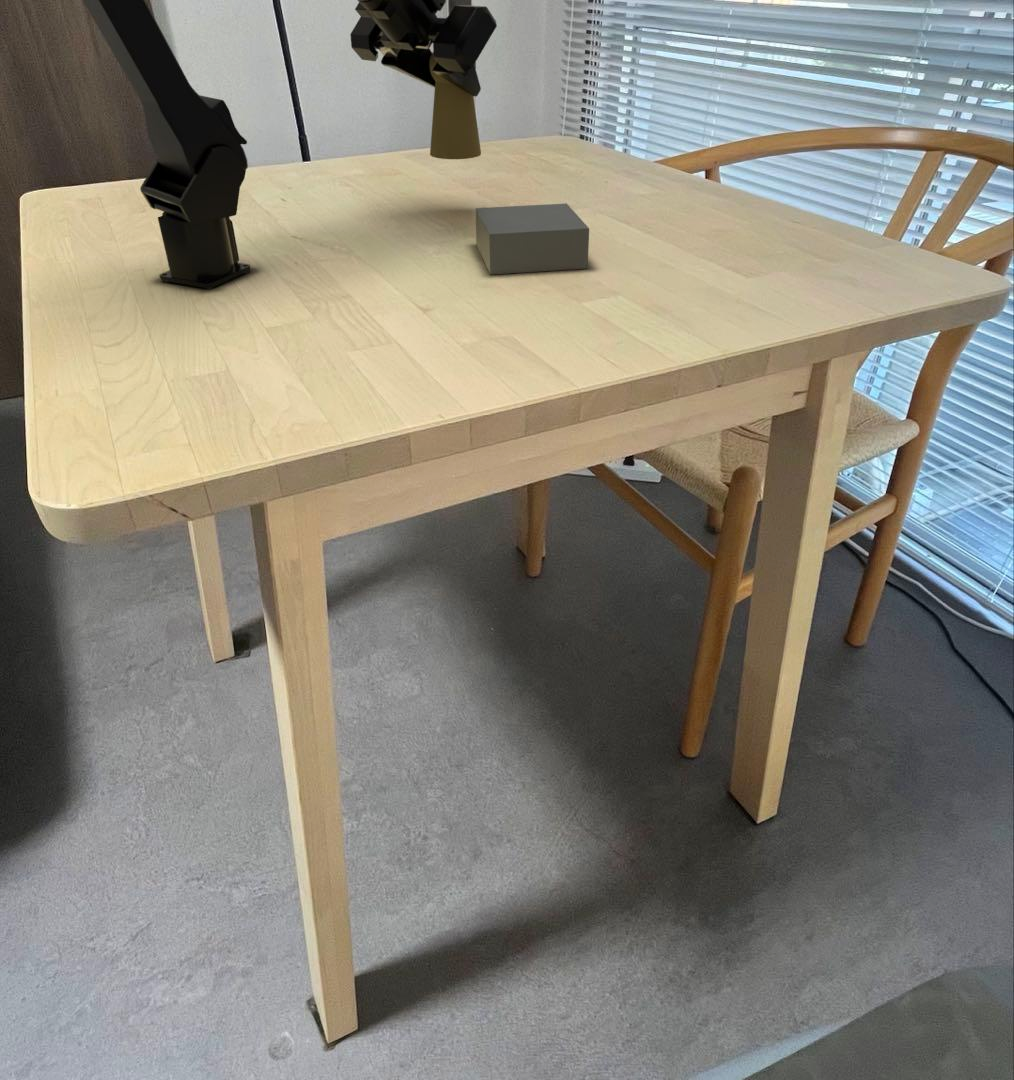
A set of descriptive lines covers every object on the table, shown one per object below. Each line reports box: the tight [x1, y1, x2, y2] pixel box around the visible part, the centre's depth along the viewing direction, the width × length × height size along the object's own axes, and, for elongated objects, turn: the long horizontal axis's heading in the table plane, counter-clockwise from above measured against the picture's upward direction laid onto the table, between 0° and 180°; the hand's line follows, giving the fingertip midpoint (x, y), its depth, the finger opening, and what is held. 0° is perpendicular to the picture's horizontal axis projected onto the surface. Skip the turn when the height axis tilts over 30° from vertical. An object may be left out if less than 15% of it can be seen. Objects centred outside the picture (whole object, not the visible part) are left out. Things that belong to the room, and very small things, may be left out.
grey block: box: [475, 203, 590, 275], centre depth 90 cm, size 10×10×4 cm
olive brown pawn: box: [429, 51, 482, 160], centre depth 99 cm, size 6×6×11 cm
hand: (462, 90), depth 99 cm, fingers closed on olive brown pawn, 5 cm apart
